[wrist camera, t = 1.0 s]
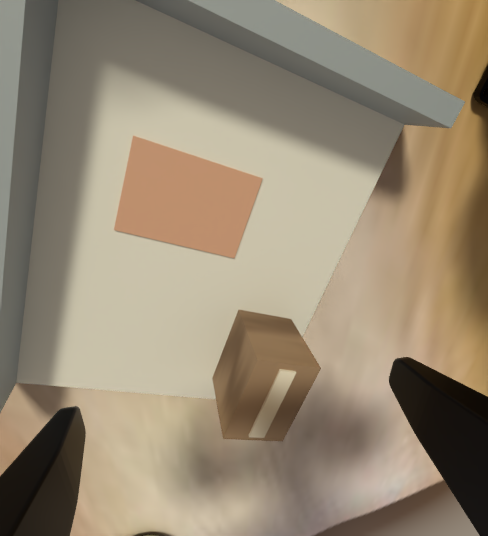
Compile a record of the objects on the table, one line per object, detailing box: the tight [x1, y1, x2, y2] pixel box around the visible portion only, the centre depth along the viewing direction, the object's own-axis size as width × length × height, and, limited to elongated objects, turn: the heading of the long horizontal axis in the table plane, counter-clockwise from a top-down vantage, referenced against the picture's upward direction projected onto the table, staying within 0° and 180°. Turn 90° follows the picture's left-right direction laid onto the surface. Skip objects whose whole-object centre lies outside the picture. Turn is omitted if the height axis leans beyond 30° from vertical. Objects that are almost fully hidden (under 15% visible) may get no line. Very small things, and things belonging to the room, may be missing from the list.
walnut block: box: [212, 310, 321, 441], centre depth 21 cm, size 6×4×5 cm, turn 161°
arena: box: [0, 0, 465, 412], centre depth 18 cm, size 19×23×5 cm
